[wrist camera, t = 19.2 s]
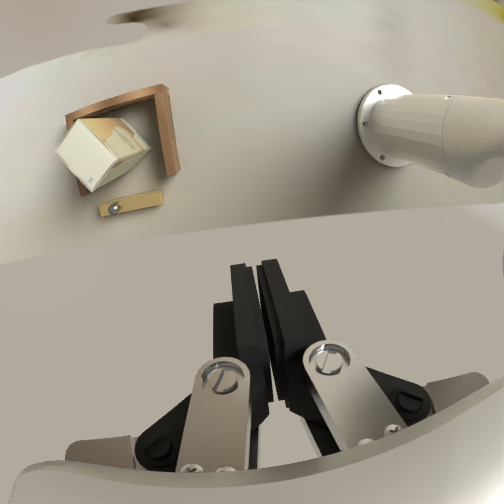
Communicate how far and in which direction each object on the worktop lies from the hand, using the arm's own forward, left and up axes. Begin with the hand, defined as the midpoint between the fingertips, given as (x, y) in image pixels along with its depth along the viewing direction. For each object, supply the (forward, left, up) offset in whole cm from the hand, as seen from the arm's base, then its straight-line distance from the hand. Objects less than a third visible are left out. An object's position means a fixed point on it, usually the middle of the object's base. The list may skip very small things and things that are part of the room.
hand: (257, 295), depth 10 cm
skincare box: (+13, -6, -27) cm, 31 cm away
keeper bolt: (+14, +2, -27) cm, 30 cm away
